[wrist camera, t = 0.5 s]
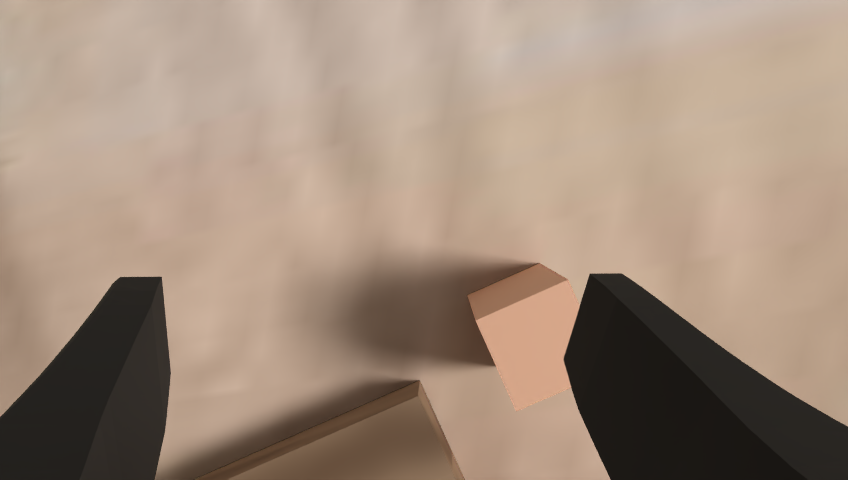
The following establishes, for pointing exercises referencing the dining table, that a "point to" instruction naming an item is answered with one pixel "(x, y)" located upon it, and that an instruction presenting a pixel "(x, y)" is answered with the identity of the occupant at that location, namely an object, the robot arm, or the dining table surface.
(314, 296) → the dining table surface
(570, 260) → the dining table surface
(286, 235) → the dining table surface
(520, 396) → the peg
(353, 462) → the slot block
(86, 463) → the robot arm
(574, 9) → the dining table surface
